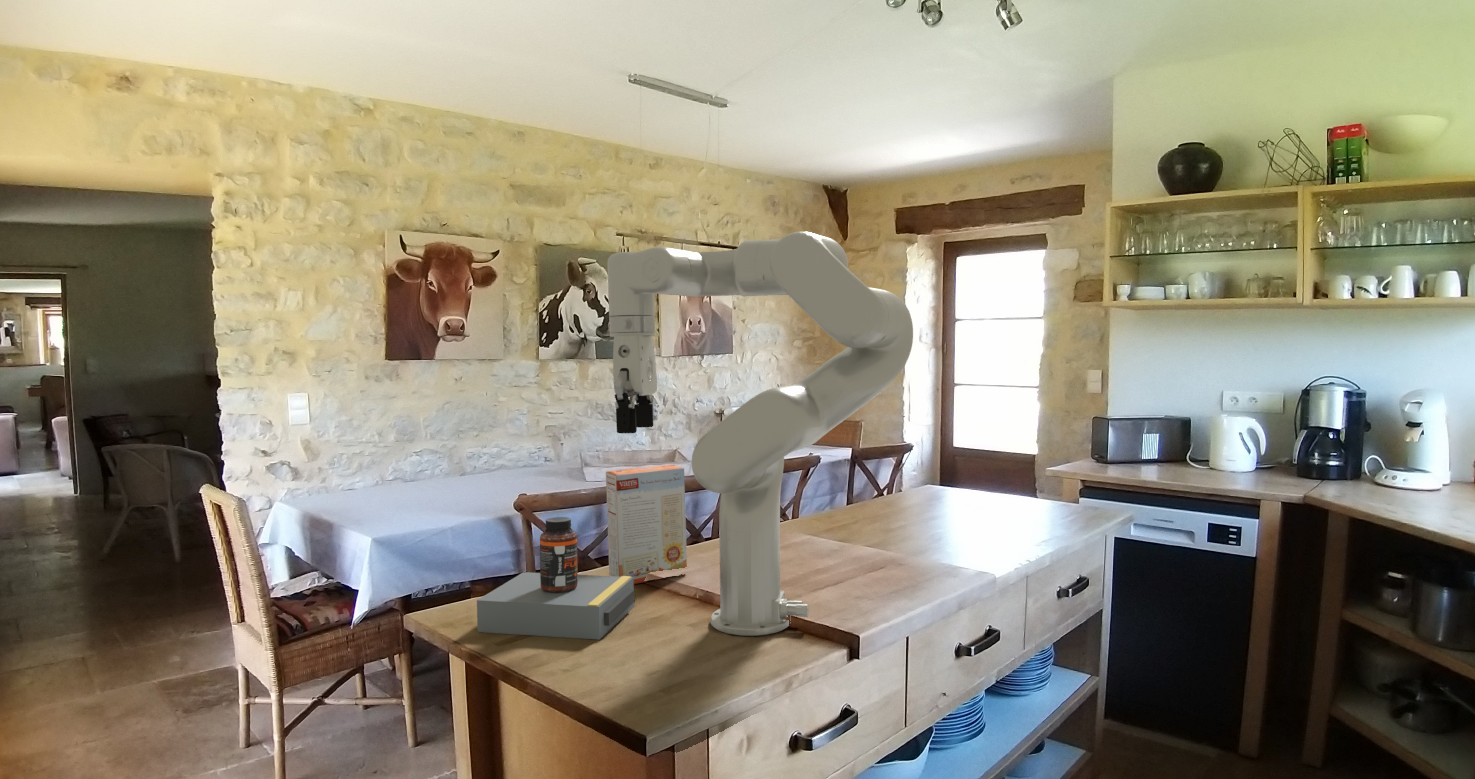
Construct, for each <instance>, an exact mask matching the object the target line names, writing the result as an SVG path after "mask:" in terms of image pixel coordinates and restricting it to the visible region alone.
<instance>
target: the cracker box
mask: <svg viewBox="0 0 1475 779" xmlns="http://www.w3.org/2000/svg"><path fill="white" fill-rule="evenodd" d="M685 483H686V482H685V467H681V466H678V465H675V464H668V465H657V466H655V465H654V466H648V467H646V466H645V467H644V466H643V467H635V468H633V467H632V468H625V469H616V470H607V471H606V472H605V487H606V490H605V491H606V516H607V518H606V519H607V522H606V523H607V544H608V545H607V546H608V547H607V548H608V572H609V573H608V574H609V575H608V576H616V577H622V576H631V577H633V578H634V585H635V584H636V585H637V584H642V583H646V582H645V581H644V580H645V578H646V576H647V574H648V573H650V572H656V571H663V570H672V569H679V568H685V567H687V568H688V562H687V561H688V559H687V557H688V556H687V524H686V523H687V522H686V521H687V520H686V518H687V517H686V488H685V487H686V486H685Z"/></svg>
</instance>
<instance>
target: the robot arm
mask: <svg viewBox="0 0 1475 779" xmlns="http://www.w3.org/2000/svg"><path fill="white" fill-rule="evenodd" d="M848 259H849V258H848V256H847V253H846V252H845V249H844V248H843V247H842V246H841V245H840V243H839V242H837V241H836V240H834V239H833V238H830V237H828V236H823V235H821V234H820V235H819V234H817V233H814V232H809V231H794V232H791V233H789V234H787V235H784V236H783V237H782V238H773V239H772V238H771V239H750V240H749V239H748V240H744V241H742V242H741V243H739V245H738V246H737V248H734V249H728V250H718V251H691V250H687V249H680V248H674V247H668V246H654V247H650V248H645V249H643V250H640V251H623V252H615V253H612V254H611V255H610V256H609V257H608V258H607V266H606V267H607V288H608V289H607V292H608V293H607V294H608V295H607V296H608V318H609V319H608V320H609V322H608V323H609V337H610V338H613V348H612V349H613V353H612V356H613V358H612V359H613V360H612V366H613V367H612V374H613V375H612V376H613V378H612V379H613V380H612V381H613V389H614V399H615V404H614V406H615V417H616V418H615V421H616V423H615V424H616V432H617V434H636V433H637V431H638V430H637V429H638V428H653V427H654V405H653V403H654V402H653V401H654V398H653V395H654V394H655V393H656V392H657V391H658V379H657V378H658V377H657V367H656V352H655V344H654V339H653V337H654V336H656V321H655V320H656V318H655V317H656V316H655V294H656V295H657V294H658V295H665V296H666V295H667V296H680V297H681V296H682V297H721V296H722V297H725V296H742V297H761V296H763V297H764V296H767V297H768V296H788V297H790V299H791V300H792V301H793V302H794V303H795V304H796V305H797V306H798V307H799V308H800V309H801V310H803V312H804V313H806V314H807V315H808V317H809V318H810V319H812V321H813V322H815V323H816V325H817V326H818V327H819V328H820V329H822V331H824V332H825V333H826V334H827V336H829V337H830V338H831V339H832V340H834V341H835V342H837V343H838V344H840V345H842V346H845V347H846V348H844V349H843V350H842V351H840V352H839V353H838V354H836V355H834V356H833V357H831V358H829V359H828V360H827V361H825V362H823V364H821V365H820V366H819V367H818V368H817V369H815V370H813V372H811V373H810V374H808V375H807V376H806V377H804V378H803V379H801V380H800V381H798V382H796V383H794V384H791V385H784V386H778V387H772V388H769V389H766V390H763V391H761V392H760V393H758V394H757V395H755V396H752V397H751V398H750V399H748V400H747V401H746V402H744V404H742V405H740V406H739V407H738V408H736V409H735V410H734V411H733V412H731V413H730V414H728V415H727V416H726V417H725V418H723V420H721V421H719V422H718V423H717V424H716V425H715V426H713V427H712V428H710V429H709V430H708V431H707V432H706V433H704V434H703V435H702V436H701V438H700V439H698V441H697V442H696V444H695V446H694V448H693V450H692V455H691V469H692V474H693V476H694V478H695V479H696V481H697V483H698V484H699V485H701V487H702V488H704V489H706V490H707V491H710V492H712V493H715V494H720V502H719V513H718V514H719V515H718V516H719V517H718V518H719V519H718V520H719V521H718V522H719V526H718V528H719V529H718V530H719V531H718V532H719V541H718V542H719V544H718V545H719V593H720V594H719V598H720V599H719V600H720V601H719V604H720V605H719V606H720V608H718V609H716V610H715V611H714V612H712V613H711V615H710V624H711V626H712V627H713V628H714V629H716V630H717V631H719V632H721V633H725V634H729V635H733V636H746V637H748V636H750V637H752V636H764V635H765V636H767V635H771V634H776V633H779V632H781V631H784V630H785V629H787V628H788V627H789V626H790V625H789V620H786V619H782V618H787V617H788V615H790V617H791V616H793V617H794V616H796V617H797V616H798V617H799V618H808V617H809V604H807V603H803V601H802V600H788V598H785V595H786V594H785V590H781V540H780V538H781V536H780V535H781V532H780V531H781V530H780V528H781V527H780V526H781V522H780V521H781V492H782V491H781V490H782V481H783V474H784V468H785V467H784V466H785V457H786V456H788V455H789V454H791V453H793V452H797V451H799V450H802V449H805V448H807V447H810V446H812V445H814V444H816V443H817V442H818V441H819V440H821V439H822V438H823V437H824V436H825V435H826V434H828V433H829V432H830V431H831V430H833V429H835V427H837V426H838V425H840V424H841V423H843V422H844V421H846V420H847V419H848V418H850V417H851V416H852V415H853V414H855V413H856V412H857V411H858V410H860V409H861V408H862V407H864V406H865V405H867V404H868V403H869V402H870V401H872V400H873V399H875V397H877V396H879V394H880V393H882V392H883V391H885V389H887V388H888V387H889V386H890V385H891V384H892V383H893V382H894V381H895V380H896V379H897V377H898V376H899V375H900V373H901V372H902V371H903V369H904V368H905V366H906V364H907V362H908V359H909V357H910V355H911V351H912V347H913V342H914V326H913V320H912V317H911V313H910V310H909V308H908V307H907V305H906V304H905V302H904V301H903V300H902V299H901V297H899V296H898V295H896V294H895V293H894V292H891V291H888V290H887V289H886V290H885V289H880V288H875V287H871V286H870V287H869V286H868V285H866V284H865V283H864V282H863V281H862V280H860V278H859V277H857V276H856V275H855V274H854V273H853V272H852V271H851V270H850V269H849V260H848ZM635 402H636V403H635Z"/></svg>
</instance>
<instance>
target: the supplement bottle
mask: <svg viewBox="0 0 1475 779" xmlns="http://www.w3.org/2000/svg"><path fill="white" fill-rule="evenodd" d="M539 536H540V537H539V568H540V569H539V573H540V581H541V588H542V589H543V590H544V591H548V592H565V591H570V590H572V589H574V588H576V587H577V584H578V575H579V574H578V534H577V533H576V532H575V531H574V530H573V528H572V519H571V518H570V517H568V516H554V517H549V518H546V519H545V531H544V532H542V533H541V534H540V535H539Z"/></svg>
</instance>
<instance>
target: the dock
mask: <svg viewBox="0 0 1475 779" xmlns="http://www.w3.org/2000/svg"><path fill="white" fill-rule="evenodd" d="M634 585H635V584H634V578H633V577H631V576H622V577H616V576H609V575H592V574H578V584H577V587H576V588H574V589H572V590H570V591H565V592H548V591H544V590H543V589H542V588H541V581H540V572H529V571H527V572H525V571H523V572H522V573H520V574H518V575H516V576H515V577H513V578H511V579H510V580H508V581H506V582H505V583H503V584H502V585H500V586H498V587H496V588H495V589H493V590H491V591H490V592H488V593H486V594H484V595H483V596H481V597H480V598H478V599H477V600H476V614H477V615H476V617H477V618H476V619H477V621H476V622H477V624H476V625H477V633H488V634H502V635H503V634H504V635H521V636H533V637H534V636H535V637H537V636H538V637H549V638H550V637H552V638H569V639H581V640H582V639H583V640H584V639H585V640H598V641H599V640H601V639H602V638H603V637H604V636H605V635H606V634H608V632H609V631H610V630H611V629H613V627H614V626H615V625H617V624H618V623H619V622H620V621H621V620H622V619H623V618H624V617H625V616H626V615H627V614H628V613H629V612H630V611H631V610H632V609H633V608H634V607H635V601H636V600H635V598H636V597H635V587H634Z"/></svg>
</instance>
